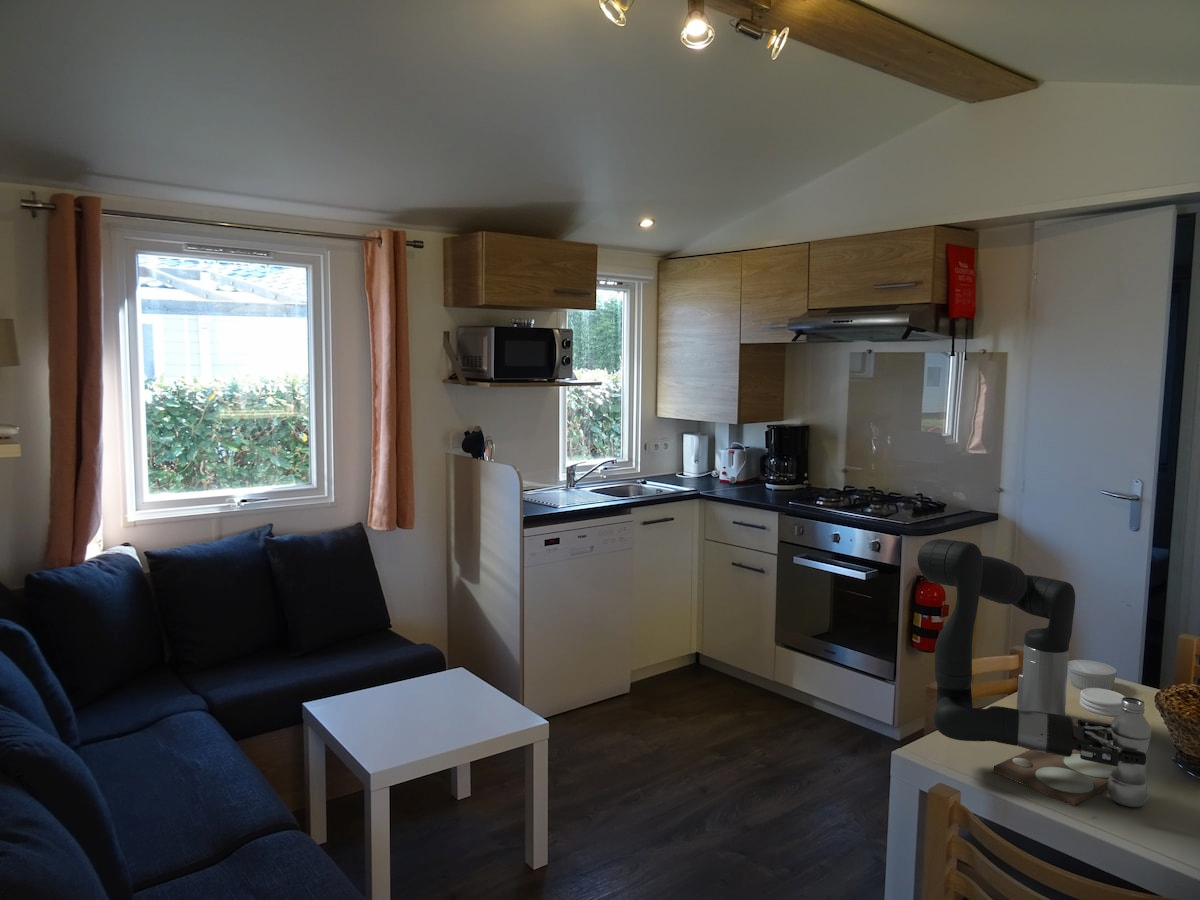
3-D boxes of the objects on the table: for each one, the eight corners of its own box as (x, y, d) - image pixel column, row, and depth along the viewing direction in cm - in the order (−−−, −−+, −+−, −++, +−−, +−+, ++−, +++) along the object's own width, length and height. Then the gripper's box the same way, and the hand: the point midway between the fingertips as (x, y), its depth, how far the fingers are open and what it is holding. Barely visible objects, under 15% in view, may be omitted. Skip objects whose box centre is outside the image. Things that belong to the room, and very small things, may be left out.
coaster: (1102, 699, 207) (1103, 685, 207) (1137, 715, 198) (1138, 700, 197) (1069, 703, 205) (1070, 689, 204) (1103, 719, 195) (1104, 705, 195)
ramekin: (1055, 682, 218) (1057, 663, 217) (1082, 675, 223) (1083, 656, 222) (1098, 697, 208) (1099, 677, 207) (1125, 690, 213) (1126, 670, 212)
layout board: (993, 771, 169) (994, 751, 169) (1054, 744, 182) (1055, 725, 181) (1073, 806, 156) (1075, 784, 156) (1133, 773, 169) (1134, 753, 168)
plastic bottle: (1149, 801, 158) (1156, 699, 156) (1143, 815, 153) (1150, 710, 151) (1110, 790, 162) (1116, 690, 160) (1102, 803, 157) (1109, 701, 155)
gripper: (1046, 727, 156) (1149, 745, 148) (1044, 700, 168) (1139, 716, 161) (1044, 766, 156) (1146, 785, 149) (1042, 736, 169) (1136, 753, 162)
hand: (1142, 749), depth 155 cm, fingers open, 8 cm apart
